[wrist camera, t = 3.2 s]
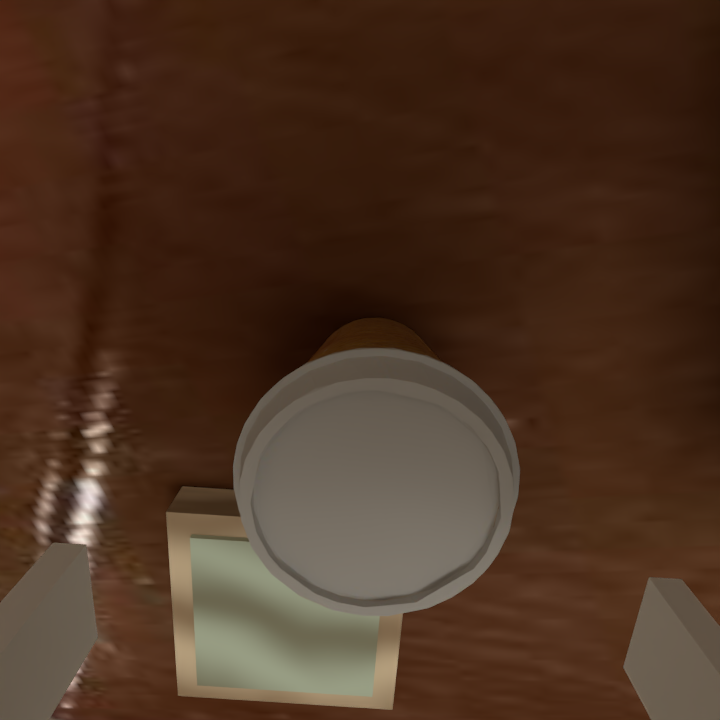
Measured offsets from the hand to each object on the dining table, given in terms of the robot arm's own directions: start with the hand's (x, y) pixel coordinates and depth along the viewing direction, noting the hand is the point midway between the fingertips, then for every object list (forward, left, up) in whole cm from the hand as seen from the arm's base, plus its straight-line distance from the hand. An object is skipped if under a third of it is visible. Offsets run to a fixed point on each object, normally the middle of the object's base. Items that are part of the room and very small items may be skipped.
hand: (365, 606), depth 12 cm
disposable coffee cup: (0, 0, -16) cm, 16 cm away
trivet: (+14, -4, -16) cm, 22 cm away
